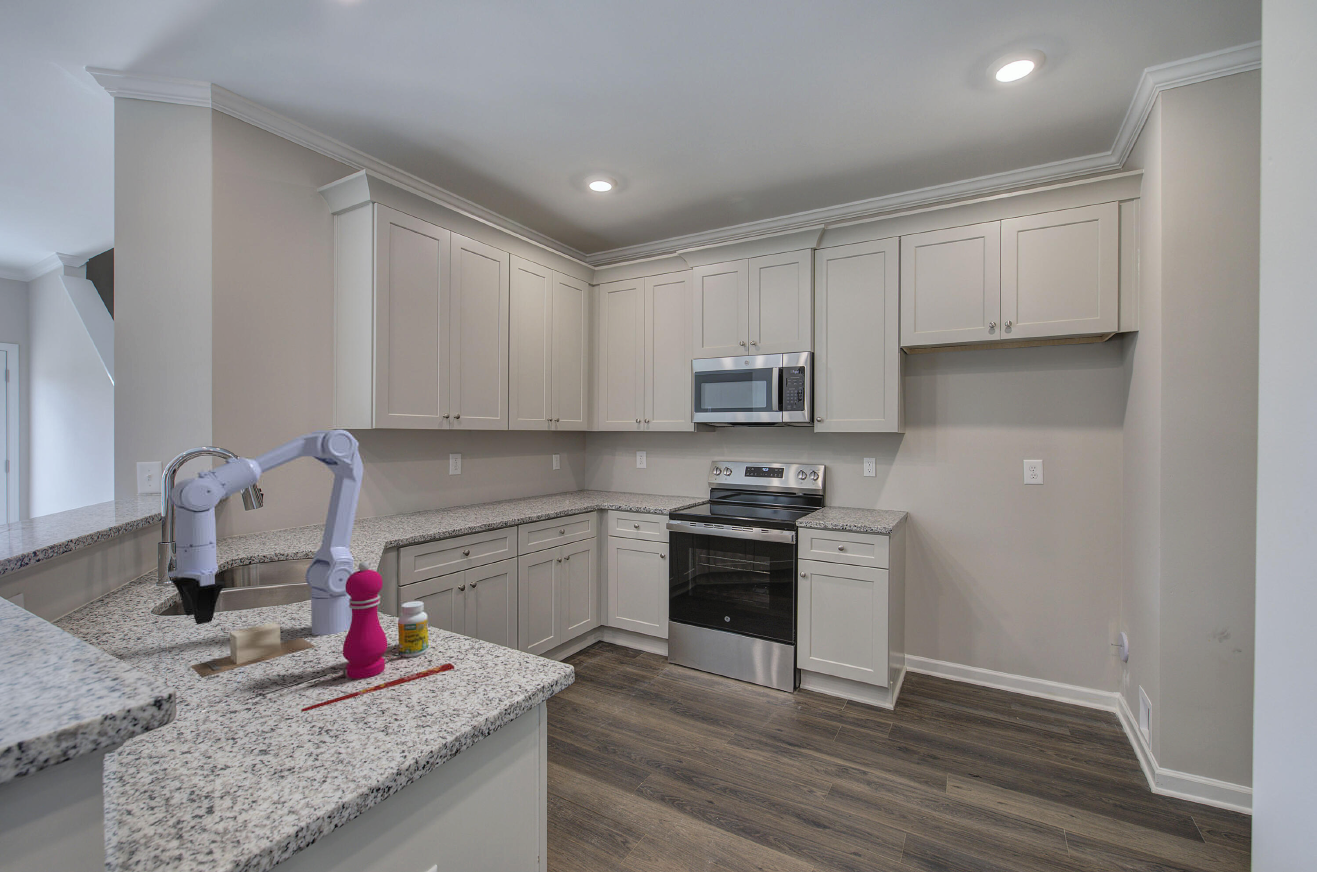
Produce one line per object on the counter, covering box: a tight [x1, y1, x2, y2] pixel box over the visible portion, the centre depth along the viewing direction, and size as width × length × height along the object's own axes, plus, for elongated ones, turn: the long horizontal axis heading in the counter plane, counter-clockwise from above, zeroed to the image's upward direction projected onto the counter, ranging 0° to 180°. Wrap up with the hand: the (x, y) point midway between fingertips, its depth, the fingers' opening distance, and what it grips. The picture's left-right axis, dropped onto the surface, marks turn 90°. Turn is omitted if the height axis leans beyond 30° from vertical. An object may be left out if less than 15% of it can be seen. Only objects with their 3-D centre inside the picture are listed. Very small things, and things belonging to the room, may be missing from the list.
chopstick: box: [301, 662, 455, 712], centre depth 98 cm, size 2×24×1 cm, turn 133°
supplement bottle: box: [397, 600, 429, 658], centre depth 113 cm, size 5×5×10 cm
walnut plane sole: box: [190, 637, 317, 678], centre depth 109 cm, size 18×8×1 cm, turn 140°
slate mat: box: [246, 674, 328, 701], centre depth 101 cm, size 12×10×1 cm
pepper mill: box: [342, 561, 388, 680], centre depth 104 cm, size 7×7×20 cm
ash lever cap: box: [229, 622, 281, 664], centre depth 109 cm, size 7×4×5 cm, turn 140°
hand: (198, 618), depth 105 cm, fingers open, 7 cm apart
